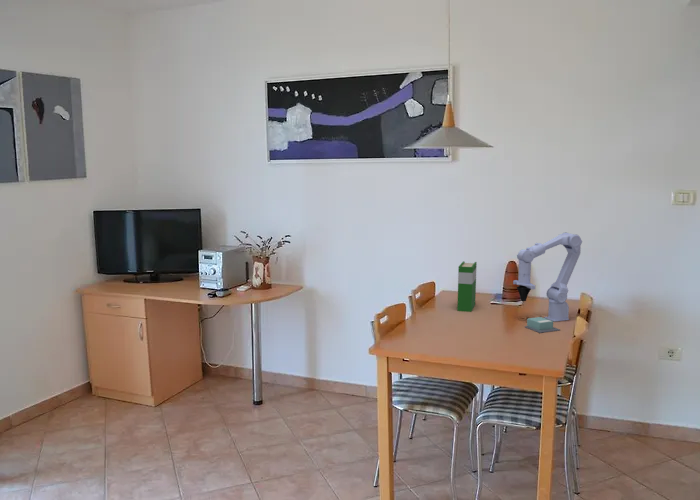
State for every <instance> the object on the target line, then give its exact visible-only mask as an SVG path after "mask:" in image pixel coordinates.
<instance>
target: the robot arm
mask: <svg viewBox="0 0 700 500" xmlns="http://www.w3.org/2000/svg"><path fill="white" fill-rule="evenodd" d="M582 243H583V240H582V238H581V237H580V235H579V234H575V233H569V232H563V233H560V234H558V235H557V236H555V237H553V238H551V239H549V240H547V241H546V242H544V243H541V242H535V243H534V245H531V246H530V247H526V248H525V249H520V250H519V251H518V253H517V254H516V258H517V259H518V276H517V277H518V280H517V279H515V280H513V281H512V284H513V285H517V286H516V289H517V291H518V294H519V298H520V301H521V302H527V300H528V299H527V298H528V295H529V293H530V291H531V290H536V285H535V284H533V283H531V277H532V276H531V272H532V262H533V260H534V259H536V258H537V257H539V256H542V255H544V254H545V253H546V251H547V250H549V249H552V248H554V247H557V246H559V245H562V246H563V247H564V248H565V250H566V252H567V255H566V257H565V259H564V262H563V264H562V266H561V269H560V271H559V273H558V275H557V279H556V281H555V282H553V283H552V284H551V285H550V287H549V288H548V289H547V290H546V297H547V298H548V313H547V314H548V316H544V317H543V318H545V319H548V320H551V321H553V322H561V321H563V322H564V321H568V320H569V321H570V318H569V309H570V306H569V304H568V302H567V298H568V293H569V288H568V283H569V282H570V279H571V277H572V275H573V272H574V270H575V267H576V265H577V262H578V260H579V257H580V255H581V249H582V248H581V246H582Z"/></svg>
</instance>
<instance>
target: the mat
mask: <svg viewBox="0 0 700 500" xmlns="http://www.w3.org/2000/svg"><path fill="white" fill-rule="evenodd" d="M524 328H526V329H527V330H531V331H532V332H533V331H534V332H535V333H538V334H543V333H551V332H558V331H559V332H560V331H561V329H560V328H557V327H554V326H553V329H546V330H537V329H535V328H532V327H529V326H527V325H525V326H524Z"/></svg>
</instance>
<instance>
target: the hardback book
mask: <svg viewBox="0 0 700 500" xmlns="http://www.w3.org/2000/svg"><path fill="white" fill-rule="evenodd" d="M457 279H458V280H457V306H456V309H457V312H464V313H465V312H467V313H472V312H473V310H474V309H475V306H476V296H477V295H476V293H477V292H476V290H477V261H474V263H473V262H472V263H471V262H465V261H462V262H461V263H460V264H459V266H458V274H457Z"/></svg>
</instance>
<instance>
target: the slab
mask: <svg viewBox="0 0 700 500" xmlns="http://www.w3.org/2000/svg"><path fill="white" fill-rule="evenodd" d="M526 326H529V327H532V328H535V329H537V330H546V329H553V327H554V321H552V320H549V319H546V318H544V317H542V316H538V317H530V318H527V319H526Z"/></svg>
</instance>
